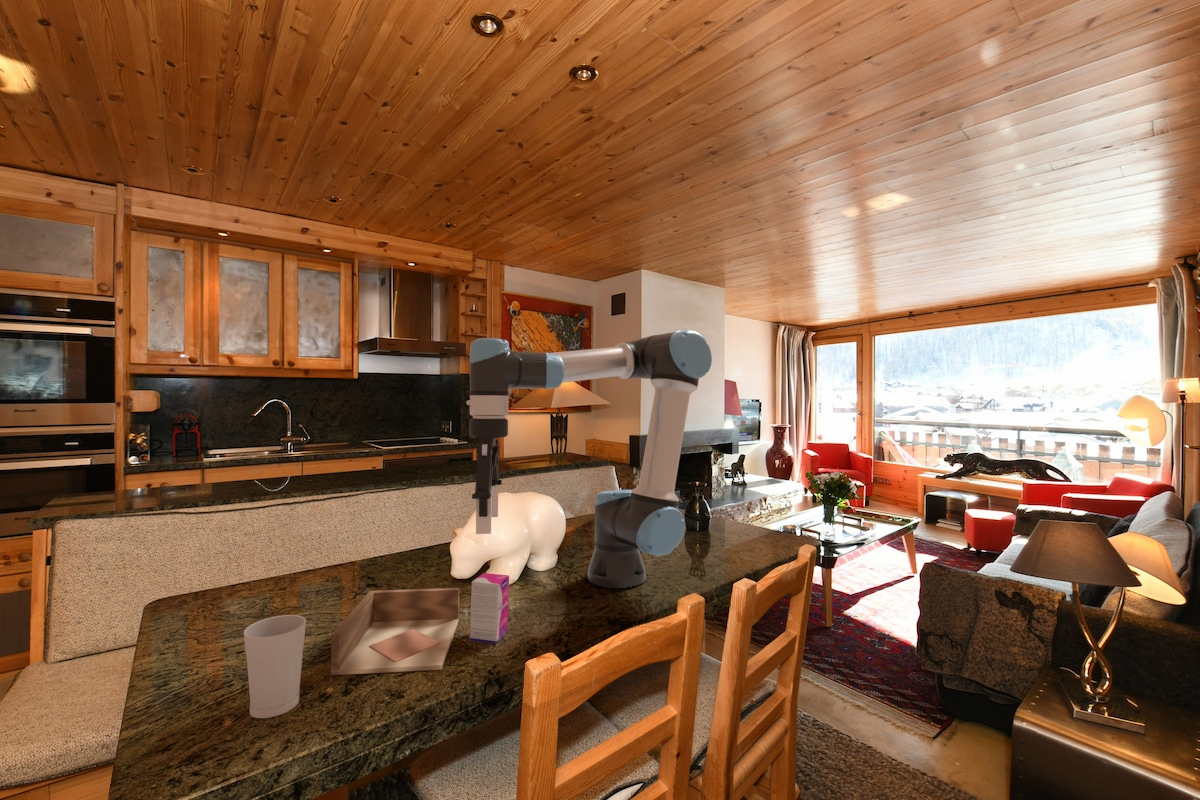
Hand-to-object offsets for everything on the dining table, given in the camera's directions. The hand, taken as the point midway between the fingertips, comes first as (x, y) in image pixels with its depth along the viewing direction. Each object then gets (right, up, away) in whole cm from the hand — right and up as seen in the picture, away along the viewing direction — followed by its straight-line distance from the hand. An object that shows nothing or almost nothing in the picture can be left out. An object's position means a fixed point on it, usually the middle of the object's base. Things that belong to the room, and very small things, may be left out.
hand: (487, 524), depth 102 cm
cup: (-27, -22, -24) cm, 42 cm away
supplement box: (0, -22, 0) cm, 22 cm away
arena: (-15, -22, -4) cm, 27 cm away
